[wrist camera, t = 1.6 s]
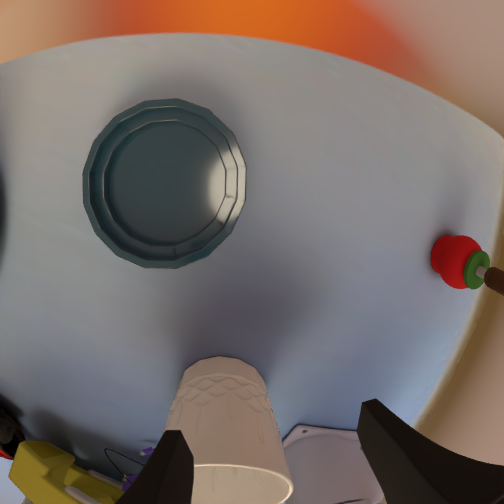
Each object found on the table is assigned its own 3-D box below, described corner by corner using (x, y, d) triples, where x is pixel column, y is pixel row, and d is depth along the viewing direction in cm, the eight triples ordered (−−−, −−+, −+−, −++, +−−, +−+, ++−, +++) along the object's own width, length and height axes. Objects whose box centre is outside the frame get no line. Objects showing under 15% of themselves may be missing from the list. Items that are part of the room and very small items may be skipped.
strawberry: (465, 242, 19) (563, 285, 9) (446, 284, 20) (536, 343, 10) (440, 221, 19) (551, 261, 8) (419, 267, 19) (521, 331, 9)
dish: (270, 141, 16) (275, 137, 15) (208, 281, 18) (205, 293, 17) (131, 89, 15) (120, 80, 13) (80, 226, 17) (65, 232, 15)
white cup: (270, 416, 22) (288, 512, 13) (181, 419, 22) (168, 513, 12) (272, 346, 20) (300, 457, 10) (165, 349, 20) (132, 457, 10)
